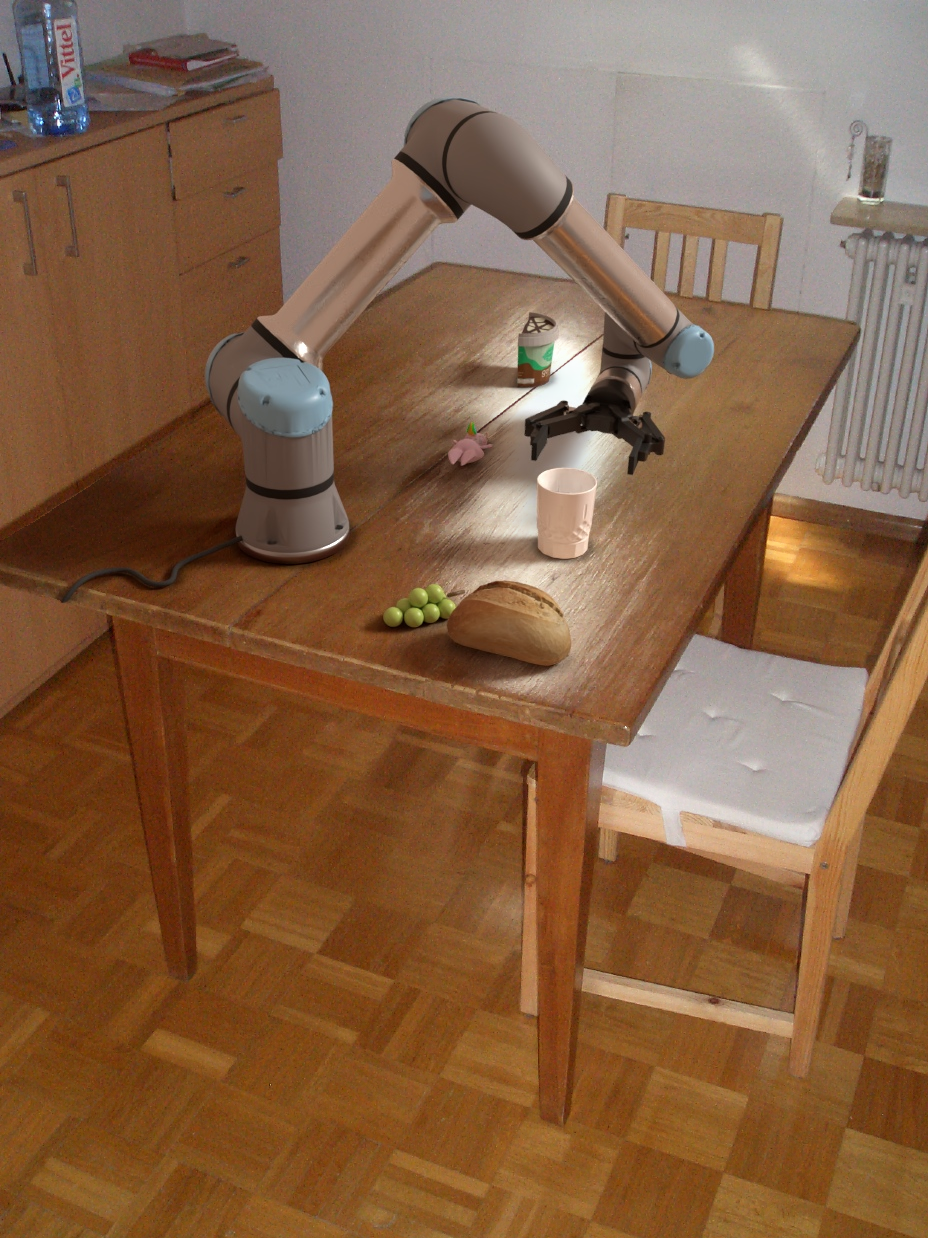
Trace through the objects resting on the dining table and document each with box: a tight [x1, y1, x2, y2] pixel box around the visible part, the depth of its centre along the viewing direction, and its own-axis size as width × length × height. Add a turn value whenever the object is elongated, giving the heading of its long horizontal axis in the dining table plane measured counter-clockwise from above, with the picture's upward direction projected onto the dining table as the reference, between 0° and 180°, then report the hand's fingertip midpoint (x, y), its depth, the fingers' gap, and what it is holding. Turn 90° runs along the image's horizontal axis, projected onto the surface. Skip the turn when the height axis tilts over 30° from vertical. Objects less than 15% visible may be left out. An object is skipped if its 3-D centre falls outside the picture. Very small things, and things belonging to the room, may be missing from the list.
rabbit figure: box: [447, 421, 493, 466], centre depth 192 cm, size 6×6×15 cm
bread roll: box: [446, 580, 572, 667], centre depth 148 cm, size 10×15×8 cm, turn 73°
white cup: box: [536, 467, 598, 560], centre depth 169 cm, size 8×8×10 cm
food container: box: [516, 311, 560, 389], centre depth 220 cm, size 12×6×10 cm, turn 168°
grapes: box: [382, 583, 466, 628], centre depth 155 cm, size 11×5×4 cm, turn 118°
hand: (581, 458), depth 174 cm, fingers open, 13 cm apart
